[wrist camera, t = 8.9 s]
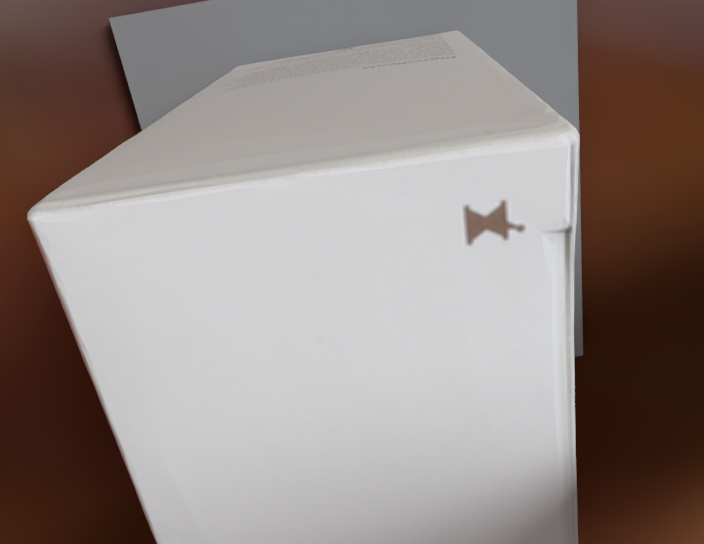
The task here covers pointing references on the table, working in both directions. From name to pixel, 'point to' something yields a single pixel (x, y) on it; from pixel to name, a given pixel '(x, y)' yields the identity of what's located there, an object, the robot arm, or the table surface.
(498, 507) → the small box
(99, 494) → the table surface
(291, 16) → the mat
